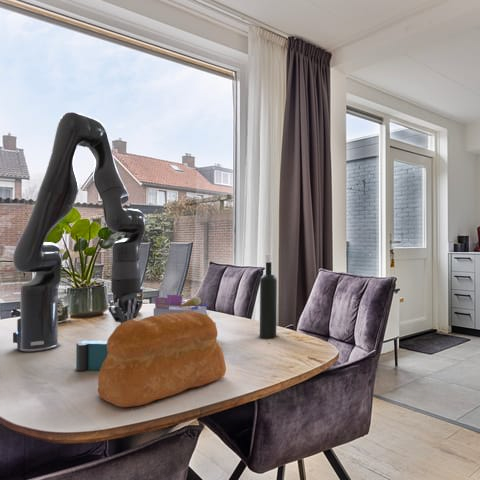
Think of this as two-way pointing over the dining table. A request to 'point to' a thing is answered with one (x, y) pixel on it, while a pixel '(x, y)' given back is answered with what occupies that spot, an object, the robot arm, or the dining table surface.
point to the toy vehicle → (178, 305)
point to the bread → (160, 358)
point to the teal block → (90, 355)
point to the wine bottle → (268, 301)
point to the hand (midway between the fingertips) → (126, 334)
